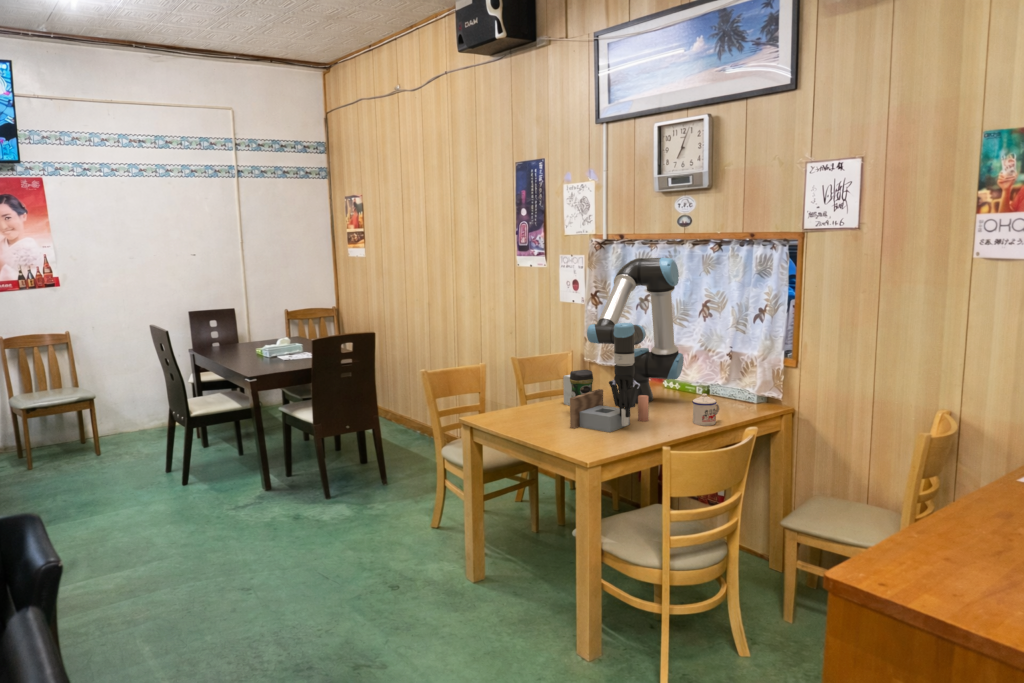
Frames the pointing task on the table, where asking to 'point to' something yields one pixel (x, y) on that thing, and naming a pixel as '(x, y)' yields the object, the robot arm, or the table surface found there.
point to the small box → (567, 389)
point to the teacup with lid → (705, 410)
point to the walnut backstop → (584, 405)
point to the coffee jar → (581, 382)
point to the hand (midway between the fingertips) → (625, 425)
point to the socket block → (602, 418)
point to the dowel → (643, 408)
